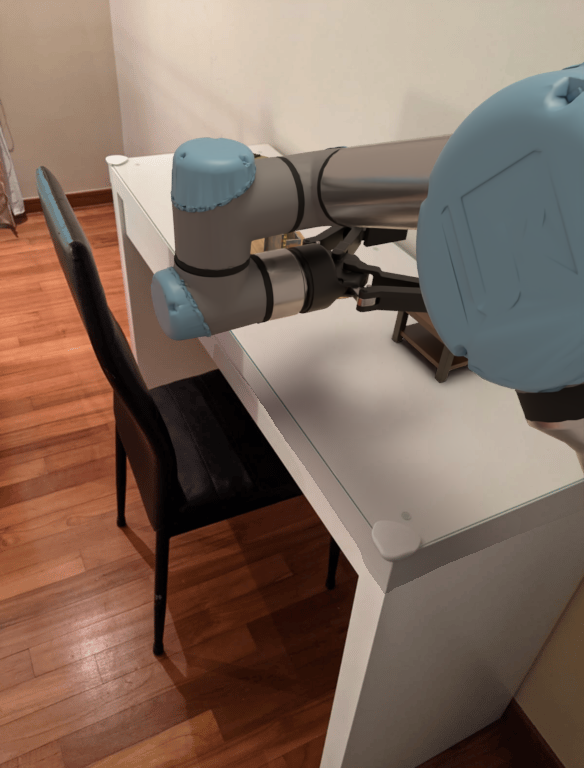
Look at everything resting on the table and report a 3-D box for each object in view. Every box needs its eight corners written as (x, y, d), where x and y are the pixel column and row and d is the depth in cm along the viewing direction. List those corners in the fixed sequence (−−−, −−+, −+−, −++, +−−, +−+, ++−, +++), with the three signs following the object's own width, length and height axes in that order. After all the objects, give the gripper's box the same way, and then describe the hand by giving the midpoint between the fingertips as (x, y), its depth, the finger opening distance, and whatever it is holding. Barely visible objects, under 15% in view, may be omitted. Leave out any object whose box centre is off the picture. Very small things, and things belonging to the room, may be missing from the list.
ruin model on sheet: (217, 236, 115) (218, 186, 109) (299, 231, 120) (304, 182, 114) (254, 307, 97) (257, 252, 91) (348, 297, 102) (357, 244, 96)
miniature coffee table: (439, 384, 86) (452, 343, 82) (389, 338, 94) (398, 299, 89) (520, 357, 93) (536, 319, 88) (467, 317, 101) (479, 279, 96)
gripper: (243, 261, 79) (377, 236, 88) (347, 371, 63) (498, 328, 72) (245, 205, 74) (386, 186, 83) (358, 310, 58) (519, 271, 67)
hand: (438, 251), depth 77 cm, fingers open, 13 cm apart
